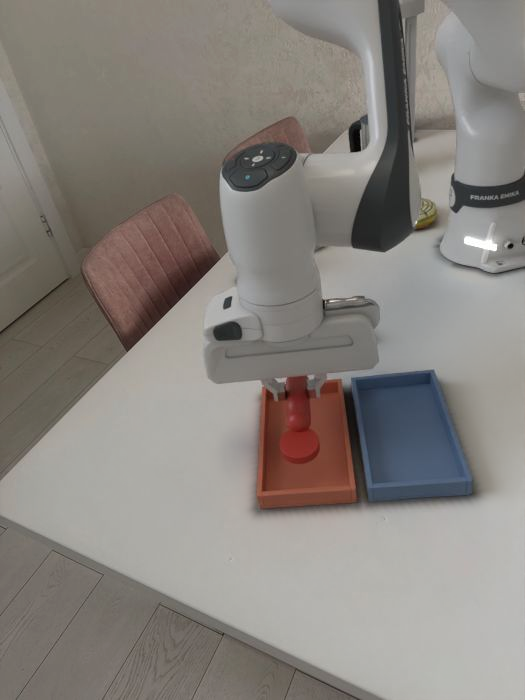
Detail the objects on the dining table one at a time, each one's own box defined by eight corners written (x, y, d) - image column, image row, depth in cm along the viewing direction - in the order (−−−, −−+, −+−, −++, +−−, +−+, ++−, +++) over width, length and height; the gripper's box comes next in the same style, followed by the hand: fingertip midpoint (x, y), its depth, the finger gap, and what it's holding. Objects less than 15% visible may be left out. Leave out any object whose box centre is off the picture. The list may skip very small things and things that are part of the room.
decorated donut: (387, 211, 113) (387, 195, 110) (437, 210, 109) (438, 193, 106) (380, 232, 105) (380, 216, 103) (434, 232, 101) (435, 215, 99)
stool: (367, 149, 146) (362, 7, 125) (367, 132, 158) (362, 0, 136) (422, 143, 143) (426, -5, 121) (418, 126, 154) (422, -11, 133)
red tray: (342, 391, 71) (341, 378, 69) (357, 502, 57) (356, 489, 55) (264, 398, 72) (262, 386, 71) (260, 508, 58) (256, 496, 57)
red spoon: (281, 383, 67) (278, 366, 66) (315, 380, 67) (313, 363, 65) (280, 465, 57) (276, 448, 55) (321, 463, 56) (318, 445, 54)
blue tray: (433, 382, 69) (433, 369, 68) (471, 494, 55) (473, 480, 53) (351, 390, 71) (350, 377, 69) (368, 501, 56) (367, 488, 55)
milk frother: (404, 171, 129) (404, 110, 120) (380, 195, 120) (379, 131, 110) (353, 168, 136) (350, 111, 127) (327, 192, 127) (322, 131, 118)
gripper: (375, 278, 55) (377, 371, 64) (196, 300, 58) (221, 386, 66) (384, 311, 50) (385, 406, 59) (188, 332, 53) (216, 421, 61)
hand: (297, 396), depth 63 cm, fingers closed on red spoon, 3 cm apart
